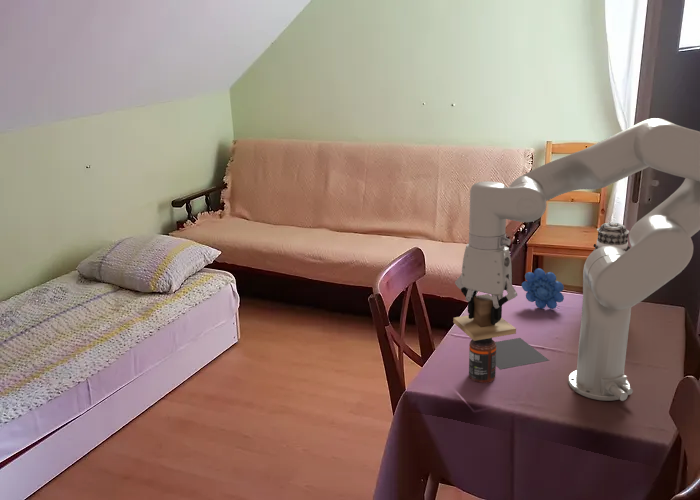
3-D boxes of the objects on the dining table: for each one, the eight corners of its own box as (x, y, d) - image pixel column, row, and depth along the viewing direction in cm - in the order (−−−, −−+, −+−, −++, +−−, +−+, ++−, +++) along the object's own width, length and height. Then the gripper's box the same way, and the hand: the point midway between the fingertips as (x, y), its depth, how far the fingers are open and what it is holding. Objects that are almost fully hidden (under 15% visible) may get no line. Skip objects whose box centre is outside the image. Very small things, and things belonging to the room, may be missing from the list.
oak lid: (515, 333, 137) (517, 302, 134) (474, 340, 134) (474, 309, 132) (493, 316, 146) (494, 287, 143) (453, 322, 143) (453, 293, 141)
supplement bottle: (493, 371, 146) (495, 327, 143) (496, 384, 140) (498, 338, 137) (467, 371, 147) (468, 326, 143) (469, 384, 141) (470, 338, 138)
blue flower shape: (518, 312, 178) (521, 272, 174) (521, 303, 184) (523, 264, 180) (562, 316, 174) (565, 275, 170) (563, 307, 180) (566, 267, 176)
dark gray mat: (549, 361, 150) (549, 360, 150) (500, 370, 146) (500, 369, 146) (520, 339, 162) (520, 337, 162) (474, 347, 158) (474, 345, 158)
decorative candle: (619, 320, 171) (629, 231, 163) (584, 313, 176) (592, 227, 168) (626, 308, 178) (635, 222, 171) (591, 302, 183) (599, 219, 175)
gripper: (532, 242, 131) (527, 323, 137) (460, 230, 142) (459, 305, 147) (516, 251, 126) (512, 335, 131) (443, 238, 136) (442, 316, 142)
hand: (484, 318), depth 139 cm, fingers closed on oak lid, 4 cm apart
